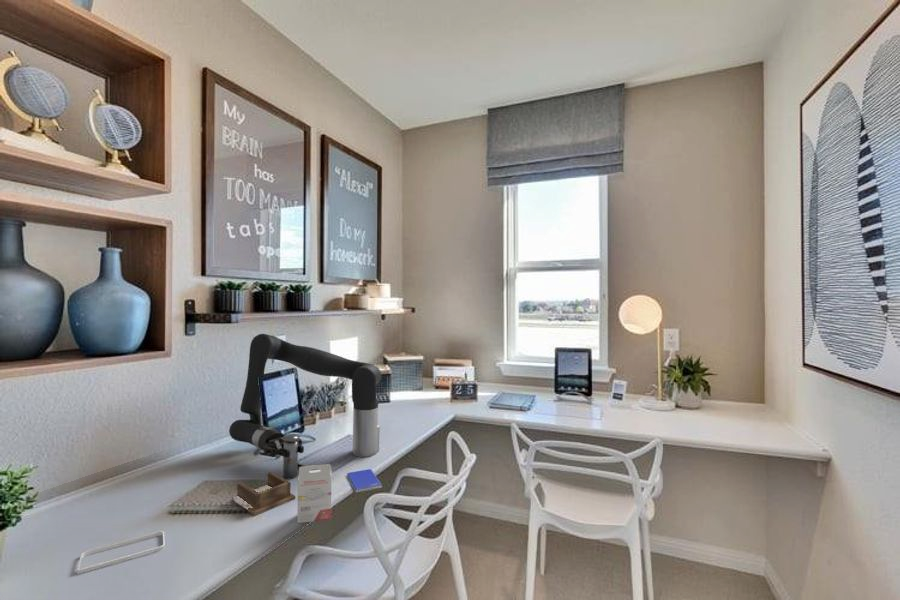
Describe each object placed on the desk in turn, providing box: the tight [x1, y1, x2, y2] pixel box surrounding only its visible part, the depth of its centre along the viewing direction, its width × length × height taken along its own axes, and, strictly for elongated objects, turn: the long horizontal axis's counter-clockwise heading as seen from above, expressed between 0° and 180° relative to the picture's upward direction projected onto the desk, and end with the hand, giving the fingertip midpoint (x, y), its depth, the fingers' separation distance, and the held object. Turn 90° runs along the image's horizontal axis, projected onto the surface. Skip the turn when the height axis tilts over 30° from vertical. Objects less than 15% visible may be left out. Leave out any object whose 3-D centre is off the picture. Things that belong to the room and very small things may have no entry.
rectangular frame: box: [76, 530, 166, 575], centre depth 90 cm, size 7×1×15 cm
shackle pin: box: [282, 433, 301, 480], centre depth 130 cm, size 5×5×13 cm
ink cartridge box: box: [296, 463, 333, 524], centre depth 107 cm, size 9×5×15 cm, turn 106°
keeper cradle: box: [236, 471, 296, 517], centre depth 115 cm, size 12×13×5 cm
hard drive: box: [346, 468, 383, 493], centre depth 128 cm, size 2×8×12 cm
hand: (295, 452), depth 129 cm, fingers closed on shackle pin, 4 cm apart
